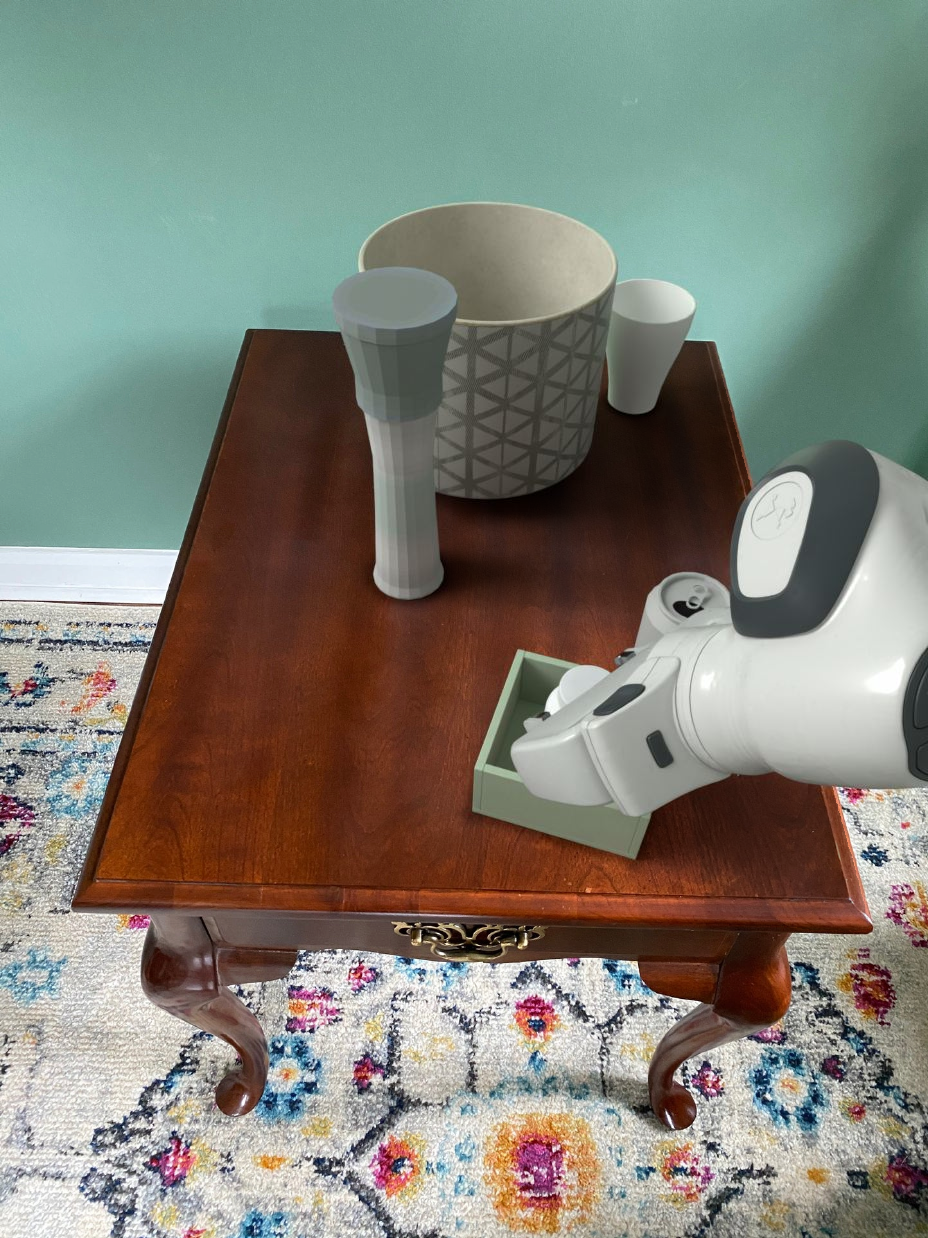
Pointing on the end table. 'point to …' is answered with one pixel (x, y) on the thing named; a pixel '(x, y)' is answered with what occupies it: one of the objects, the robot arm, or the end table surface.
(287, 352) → the end table surface
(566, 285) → the planter
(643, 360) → the cup
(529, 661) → the bin
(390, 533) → the grey tall flared cylinder
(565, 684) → the pill bottle
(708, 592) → the can
